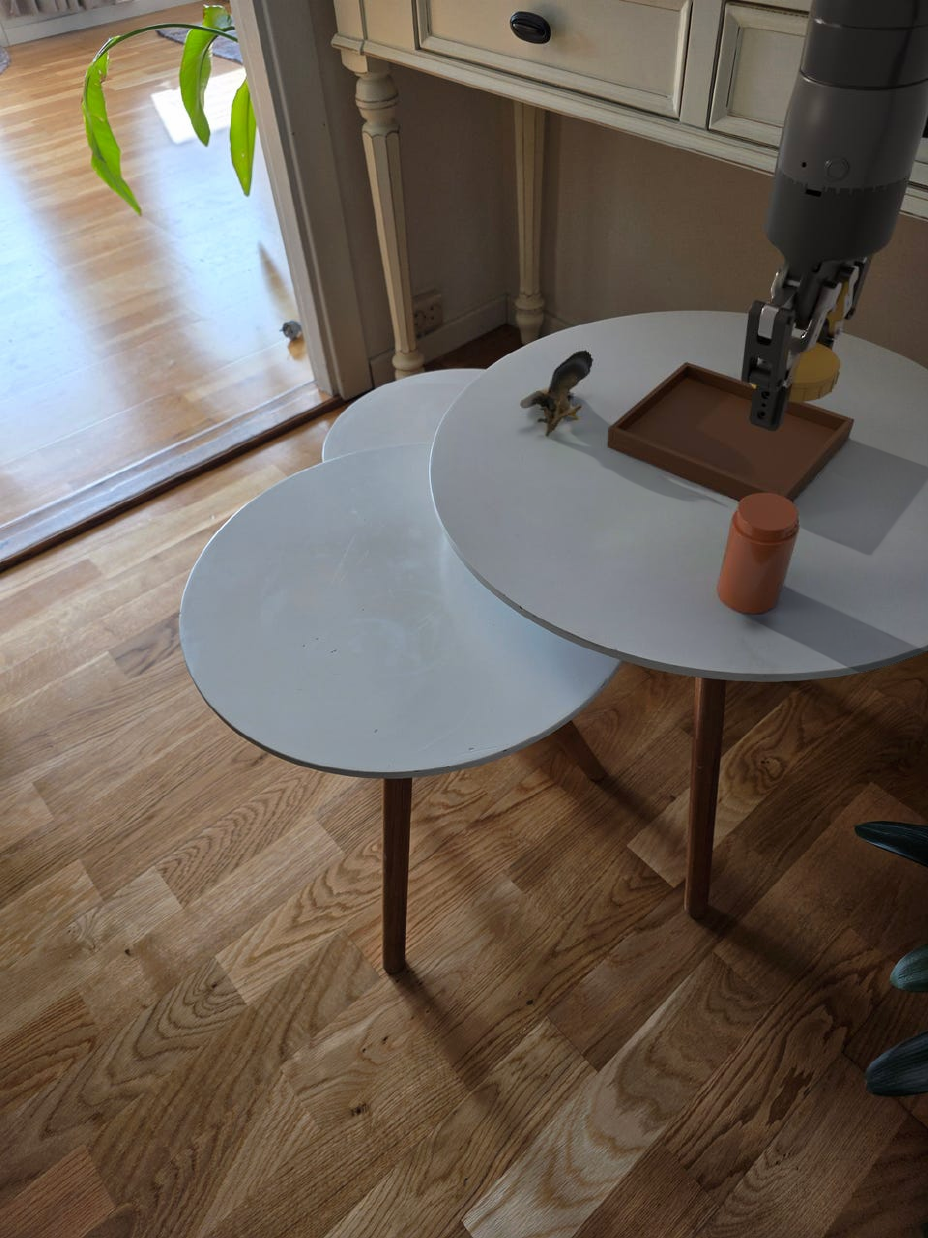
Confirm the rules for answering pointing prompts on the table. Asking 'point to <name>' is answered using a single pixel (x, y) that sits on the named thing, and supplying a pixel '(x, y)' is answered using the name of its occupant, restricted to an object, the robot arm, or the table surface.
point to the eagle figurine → (560, 390)
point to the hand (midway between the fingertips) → (785, 403)
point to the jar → (758, 552)
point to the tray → (727, 436)
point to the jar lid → (815, 375)
